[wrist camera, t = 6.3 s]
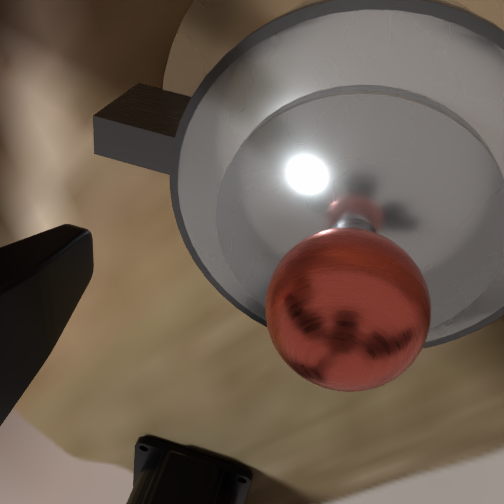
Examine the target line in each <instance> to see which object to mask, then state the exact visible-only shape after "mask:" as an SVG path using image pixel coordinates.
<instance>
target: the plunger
mask: <svg viewBox="0 0 504 504" xmlns="http://www.w3.org/2000/svg"><path fill="white" fill-rule="evenodd" d="M216 229H217V234H218V239H219V243H220V247H221V249H222V252H223V255H224V257H225V260H226V262H227V263H228V265H229V267H230V269H231V271H232V273H233V274H234V275H235V277H236V278H237V280H238V281H239V283H240V284H241V285H242V286H243V287H244V288H245V290H246V291H247V292H248V293H249V294H250V295H251V296H252V297H253V298H254V299H255V300H257V301H258V302H259V303H260V304H261V305H262V306H264V307H265V317H266V322H267V328H268V331H269V334H270V337H271V340H272V342H273V344H274V346H275V348H276V350H277V351H278V353H279V354H280V356H281V357H282V358H283V360H284V361H285V362H286V363H287V364H288V365H289V366H290V367H291V368H292V369H293V370H294V371H295V372H296V373H297V374H299V375H300V376H302V377H303V378H305V379H306V380H308V381H310V382H312V383H314V384H316V385H318V386H321V387H324V388H327V389H331V390H336V391H345V392H354V391H363V390H369V389H373V388H376V387H379V386H381V385H384V384H386V383H388V382H389V381H391V380H393V379H395V378H396V377H398V376H399V375H400V374H402V373H403V372H404V371H405V370H406V369H407V368H408V367H409V366H410V365H411V364H412V363H413V361H414V360H415V359H416V357H417V356H418V355H419V353H420V352H421V350H422V348H423V345H424V343H425V341H426V339H427V335H428V332H429V329H430V328H432V327H434V326H437V325H439V324H441V323H443V322H445V321H447V320H449V319H450V318H452V317H454V316H455V315H457V314H459V313H460V312H461V311H463V310H464V309H465V308H467V307H468V306H469V305H471V304H472V303H473V302H474V301H475V300H476V299H477V298H478V297H479V296H480V295H481V294H482V293H483V292H484V291H485V290H486V288H487V287H488V286H489V285H490V283H491V282H492V281H493V279H494V278H495V276H496V275H497V273H498V271H499V269H500V267H501V266H502V264H503V262H504V177H503V175H502V173H501V170H500V168H499V165H498V163H497V161H496V159H495V158H494V156H493V154H492V152H491V150H490V148H489V147H488V145H487V144H486V143H485V141H484V140H483V139H482V138H481V136H480V135H479V134H478V132H477V131H476V130H475V129H474V128H473V127H471V126H470V125H469V124H468V123H467V122H466V121H465V120H464V119H463V118H462V117H460V116H459V115H457V114H456V113H454V112H453V111H452V110H450V109H449V108H447V107H446V106H444V105H442V104H440V103H438V102H436V101H434V100H432V99H430V98H428V97H426V96H423V95H420V94H417V93H414V92H411V91H408V90H404V89H399V88H393V87H388V86H381V85H349V86H338V87H334V88H329V89H324V90H319V91H316V92H314V93H311V94H308V95H305V96H302V97H299V98H298V99H296V100H294V101H292V102H290V103H288V104H286V105H284V106H282V107H280V108H279V109H278V110H276V111H275V112H273V113H272V114H270V115H269V116H268V117H266V118H265V119H264V120H263V121H262V122H261V123H260V124H259V125H258V126H256V127H255V128H254V129H253V130H252V132H251V133H250V134H249V135H248V137H247V138H246V139H245V140H244V142H243V143H242V144H241V146H240V148H239V149H238V151H237V152H236V154H235V156H234V157H233V159H232V161H231V163H230V164H229V166H228V168H227V169H226V172H225V174H224V177H223V179H222V182H221V184H220V188H219V192H218V197H217V203H216Z"/></svg>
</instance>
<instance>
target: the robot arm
mask: <svg viewBox="0 0 504 504" xmlns="http://www.w3.org/2000/svg"><path fill="white" fill-rule="evenodd" d="M93 269H94V263H93V239H92V234H91V232H90V231H89V230H87V229H85V228H81V227H78V226H75V225H71V224H64V225H61V226H58V227H55V228H53V229H50V230H47V231H44V232H42V233H39V234H36V235H33V236H31V237H28V238H25V239H23V240H20V241H17V242H14V243H12V244H9V245H6V246H3V247H1V248H0V426H1V424H2V423H3V422H4V420H5V419H6V417H7V416H8V414H9V413H10V412H11V410H12V409H13V407H14V406H15V404H16V403H17V402H18V400H19V399H20V397H21V396H22V394H23V393H24V391H25V390H26V389H27V387H28V386H29V384H30V383H31V381H32V380H33V379H34V377H35V376H36V374H37V373H38V371H39V370H40V369H41V367H42V366H43V364H44V363H45V361H46V360H47V358H48V356H49V355H50V353H51V352H52V350H53V348H54V346H55V345H56V343H57V341H58V339H59V337H60V336H61V334H62V332H63V330H64V328H65V326H66V324H67V323H68V321H69V319H70V317H71V315H72V313H73V311H74V310H75V308H76V306H77V304H78V302H79V300H80V299H81V297H82V295H83V293H84V291H85V289H86V287H87V286H88V284H89V282H90V280H91V277H92V274H93ZM252 477H253V474H252V472H250V471H249V470H247V469H245V468H242V467H238V466H235V465H232V464H229V463H226V462H223V461H220V460H217V459H214V458H210V457H207V456H204V455H201V454H198V453H195V452H192V451H189V450H185V449H182V448H179V447H176V446H173V445H170V444H167V443H164V442H161V441H157V440H154V439H151V438H148V437H139V438H138V441H137V443H136V445H135V458H134V480H133V490H132V492H131V494H130V497H129V499H128V501H127V503H126V504H244V501H245V499H246V496H247V493H248V490H249V488H250V485H251V482H252Z"/></svg>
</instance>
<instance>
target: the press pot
mask: <svg viewBox="0 0 504 504" xmlns="http://www.w3.org/2000/svg"><path fill="white" fill-rule="evenodd" d="M349 85H381V86H388V87H393V88H399V89H404V90H408V91H411V92H414V93H417V94H420V95H423V96H426V97H428V98H430V99H432V100H434V101H436V102H438V103H440V104H442V105H444V106H446V107H447V108H449V109H450V110H452V111H453V112H454V113H456V114H457V115H459V116H460V117H462V118H463V119H464V120H465V121H466V122H467V123H468V124H469V125H470V126H471V127H473V128H474V129H475V130H476V131H477V132H478V134H479V135H480V136H481V138H482V139H483V140H484V141H485V143H486V144H487V145H488V147H489V148H490V150H491V152H492V154H493V156H494V158H495V159H496V161H497V163H498V165H499V168H500V170H501V173H502V175H503V177H504V0H193V2H192V4H191V5H190V7H189V9H188V10H187V12H186V14H185V16H184V17H183V19H182V22H181V24H180V27H179V29H178V31H177V34H176V36H175V39H174V41H173V44H172V46H171V50H170V54H169V58H168V62H167V65H166V69H165V73H164V81H163V89H160V88H156V87H152V86H148V85H144V84H141V83H138V84H136V85H135V86H134V87H132V88H131V89H130V90H128V91H127V92H125V93H124V94H123V95H121V96H120V97H118V98H117V99H116V100H114V101H113V102H111V103H110V104H109V105H107V106H106V107H105V108H103V109H102V110H100V111H99V112H98V113H96V114H95V115H93V128H94V154H97V155H100V156H104V157H108V158H111V159H115V160H118V161H122V162H126V163H129V164H133V165H136V166H140V167H144V168H147V169H151V170H154V171H158V172H162V173H165V174H169V175H170V191H171V199H172V207H173V211H174V214H175V218H176V222H177V225H178V228H179V231H180V233H181V236H182V238H183V241H184V243H185V245H186V247H187V249H188V251H189V253H190V254H191V256H192V258H193V260H194V261H195V263H196V265H197V266H198V267H199V269H200V270H201V271H202V273H203V274H204V275H205V277H206V278H207V279H208V281H209V282H210V283H211V284H212V285H213V286H214V287H215V288H216V289H217V290H218V291H219V293H220V294H221V295H223V296H224V297H225V298H226V299H227V300H228V301H229V302H231V303H232V304H233V305H234V306H235V307H236V308H238V309H239V310H241V311H242V312H243V313H245V314H246V315H248V316H249V317H250V318H252V319H254V320H255V321H257V322H259V323H261V324H262V325H264V326H266V327H267V322H266V317H265V307H264V306H262V305H261V304H260V303H259V302H258V301H257V300H255V299H254V298H253V297H252V296H251V295H250V294H249V293H248V292H247V291H246V290H245V288H244V287H243V286H242V285H241V284H240V283H239V281H238V280H237V278H236V277H235V275H234V274H233V273H232V271H231V269H230V267H229V265H228V263H227V262H226V260H225V257H224V255H223V252H222V249H221V247H220V243H219V239H218V234H217V229H216V203H217V197H218V192H219V188H220V184H221V182H222V179H223V177H224V174H225V172H226V169H227V168H228V166H229V164H230V163H231V161H232V159H233V157H234V156H235V154H236V152H237V151H238V149H239V148H240V146H241V144H242V143H243V142H244V140H245V139H246V138H247V137H248V135H249V134H250V133H251V132H252V130H253V129H254V128H255V127H256V126H258V125H259V124H260V123H261V122H262V121H263V120H264V119H265V118H266V117H268V116H269V115H270V114H272V113H273V112H275V111H276V110H278V109H279V108H280V107H282V106H284V105H286V104H288V103H290V102H292V101H294V100H296V99H298V98H299V97H302V96H305V95H308V94H311V93H314V92H316V91H319V90H324V89H329V88H334V87H338V86H349ZM503 315H504V262H503V264H502V266H501V267H500V269H499V271H498V273H497V275H496V276H495V278H494V279H493V281H492V282H491V283H490V285H489V286H488V287H487V288H486V290H485V291H484V292H483V293H482V294H481V295H480V296H479V297H478V298H477V299H476V300H475V301H474V302H473V303H472V304H471V305H469V306H468V307H467V308H465V309H464V310H463V311H461V312H460V313H459V314H457V315H455V316H454V317H452V318H450V319H449V320H447V321H445V322H443V323H441V324H439V325H437V326H434V327H432V328H430V329H429V332H428V335H427V339H426V341H425V343H424V345H423V348H427V347H432V346H436V345H439V344H442V343H446V342H449V341H452V340H455V339H458V338H460V337H463V336H465V335H467V334H470V333H472V332H474V331H477V330H479V329H481V328H482V327H484V326H486V325H488V324H490V323H491V322H493V321H495V320H497V319H499V318H500V317H501V316H503Z"/></svg>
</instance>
